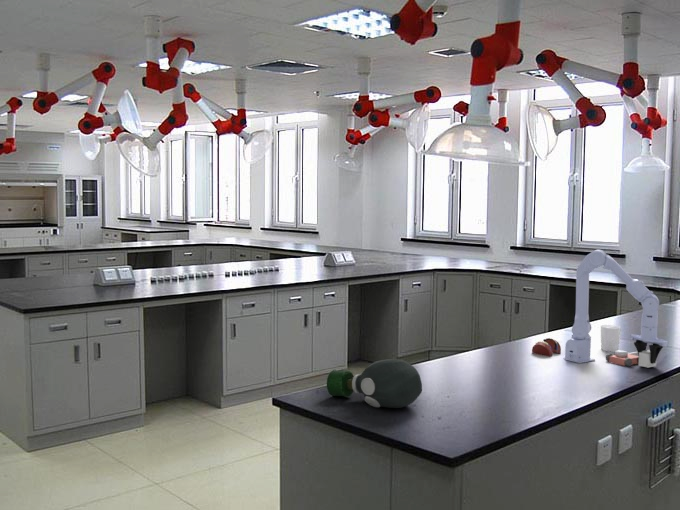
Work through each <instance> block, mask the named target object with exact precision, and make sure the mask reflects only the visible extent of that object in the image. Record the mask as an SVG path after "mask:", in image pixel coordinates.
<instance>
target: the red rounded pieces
mask: <svg viewBox="0 0 680 510" xmlns="http://www.w3.org/2000/svg"><path fill="white" fill-rule="evenodd" d="M561 351H562V347H561V344H560V343H559V341H557V340H555V339H554V338H552V337H551V338H550V337H548V338H547V337H545V338H544V339H543V341H542V340H540V341H537V342H535V344H534V345H533V346H532V349H531V354H534V355H538V356H546V357H552V356H553V354H559V355H560V354H561Z"/></svg>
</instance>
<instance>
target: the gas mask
mask: <svg viewBox="0 0 680 510" xmlns="http://www.w3.org/2000/svg"><path fill="white" fill-rule="evenodd" d="M326 388H327V392H328V394H329V395H330V396H332V397H350V396H352V395H353V393H355V394H362V395H363V397H364V401H365V403H366V404H368V405H369V406H372V407H374V408H380V407H381V408H391V409H400V408H401V409H402V408H406V407H407V406H409V405H411V404H413V403H414V402H415V401H416V400H417V399H418V397H420V395H421V394H422V392H423V383H422V380H421V376H420V374H419V371H418V370H417V368H416V367H414V366H413V365H412V364H410V363H409V362H408V361H406V360H403V359H399V358H398V359H396V358H389V359H388V358H387V359H380V360H376V361H374V362H373V363H371V364H369V365H368V366H367V367H366V368H364V370H363V372H362V373H361V374H355V375H354V374H353V372H352V371H350V370H336V369H335V370H334V369H332V370H331V371H330V372H329V373H328V376H327V377H326Z"/></svg>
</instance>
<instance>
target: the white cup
mask: <svg viewBox="0 0 680 510" xmlns="http://www.w3.org/2000/svg"><path fill="white" fill-rule="evenodd" d="M621 328H622V327H621V326H619V325H614V324H613V325H612V324H603V325H600V343H601V344H600V347H601V350H602V351H604V352H609V351H611V352H612V353H613V351H614V353H616V352H615V351H617V350H620V349H619V348H620V342H621V341H620V339H621V330H622V329H621Z"/></svg>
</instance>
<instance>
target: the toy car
mask: <svg viewBox="0 0 680 510" xmlns="http://www.w3.org/2000/svg"><path fill="white" fill-rule="evenodd" d="M605 360H606V362H609V363H612V364H614V365H615V364H616V365H619V366H624V367H630V366H632V365H636V364H638V365H639V355H638V351H633V352H628V351H626V350H620V349H619V350H617V351H616V352H614V355H613V354H612V353H606V355H605Z"/></svg>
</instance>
